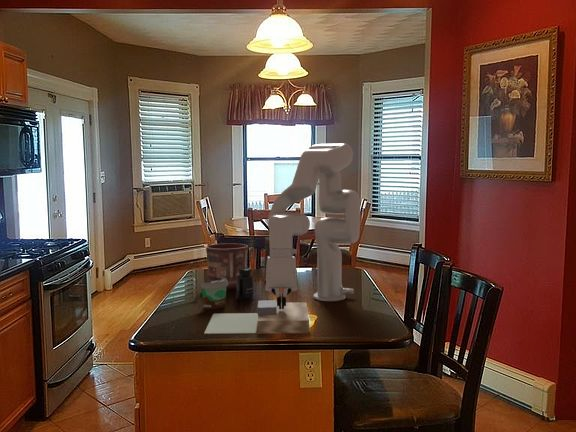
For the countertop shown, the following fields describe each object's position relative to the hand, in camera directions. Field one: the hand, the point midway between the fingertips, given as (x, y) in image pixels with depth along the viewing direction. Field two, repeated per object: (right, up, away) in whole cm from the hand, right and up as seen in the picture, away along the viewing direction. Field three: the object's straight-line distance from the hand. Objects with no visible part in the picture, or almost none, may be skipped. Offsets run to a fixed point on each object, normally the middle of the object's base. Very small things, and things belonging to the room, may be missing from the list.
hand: (281, 308), depth 174 cm
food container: (-24, -4, +21) cm, 32 cm away
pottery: (-24, -1, +54) cm, 59 cm away
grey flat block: (-5, -1, 0) cm, 5 cm away
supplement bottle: (-15, -2, +33) cm, 36 cm away
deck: (+1, -5, +1) cm, 5 cm away
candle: (-5, +1, +66) cm, 66 cm away
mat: (-16, -5, 0) cm, 17 cm away
